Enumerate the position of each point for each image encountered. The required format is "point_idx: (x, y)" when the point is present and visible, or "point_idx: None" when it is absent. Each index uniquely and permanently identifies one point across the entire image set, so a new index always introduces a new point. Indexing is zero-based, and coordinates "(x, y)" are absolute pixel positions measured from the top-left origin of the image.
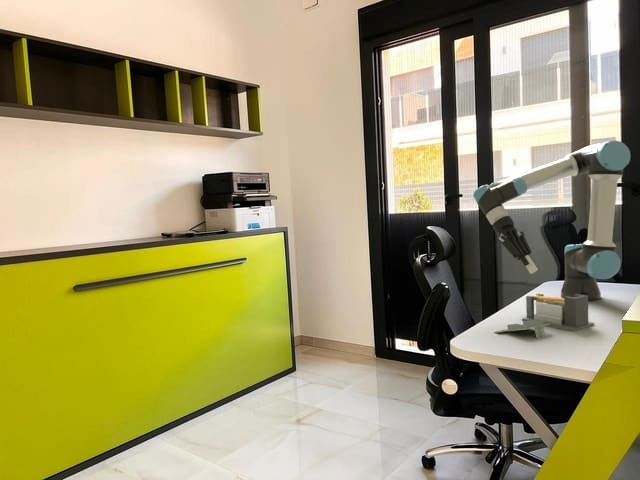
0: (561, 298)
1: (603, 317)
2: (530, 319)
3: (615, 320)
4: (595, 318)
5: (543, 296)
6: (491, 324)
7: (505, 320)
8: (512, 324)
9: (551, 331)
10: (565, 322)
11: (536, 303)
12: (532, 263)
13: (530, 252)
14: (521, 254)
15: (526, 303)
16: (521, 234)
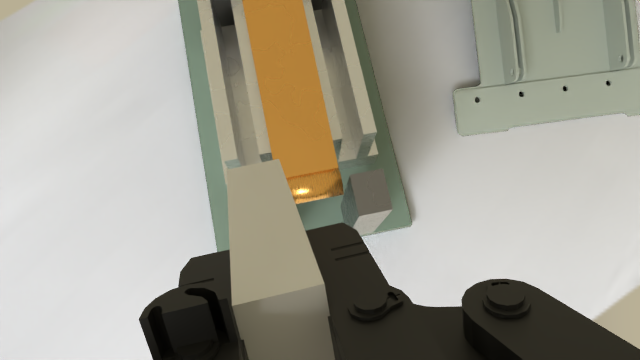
0: (265, 7)
1: (9, 74)
2: (390, 179)
3: (21, 10)
4: (59, 78)
5: (277, 157)
6: (608, 238)
7: (491, 272)
8: (632, 25)
9: (421, 5)
10: (320, 8)
11: (374, 130)
12: (261, 203)
13: (145, 311)
14: (417, 331)
15: (384, 218)
16: None
